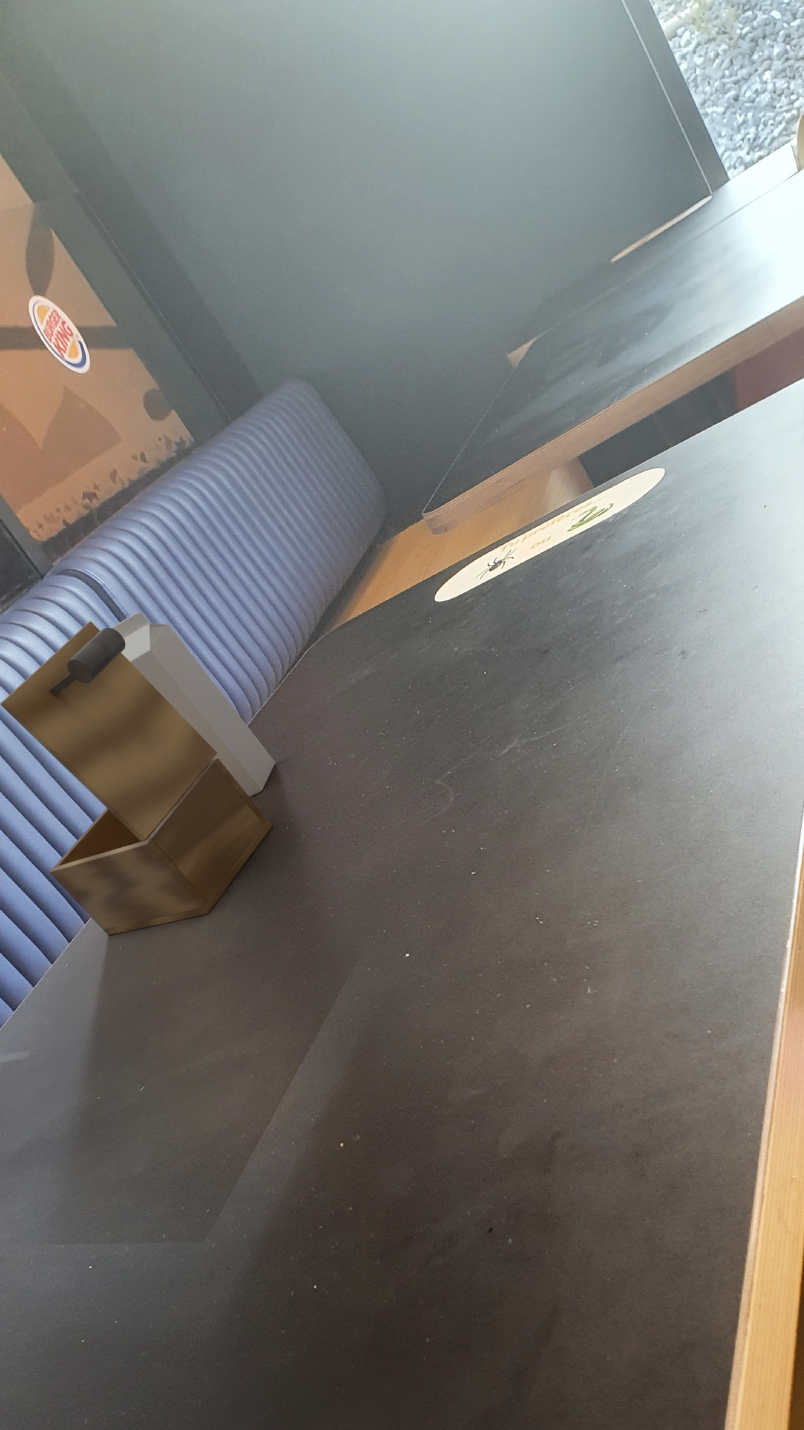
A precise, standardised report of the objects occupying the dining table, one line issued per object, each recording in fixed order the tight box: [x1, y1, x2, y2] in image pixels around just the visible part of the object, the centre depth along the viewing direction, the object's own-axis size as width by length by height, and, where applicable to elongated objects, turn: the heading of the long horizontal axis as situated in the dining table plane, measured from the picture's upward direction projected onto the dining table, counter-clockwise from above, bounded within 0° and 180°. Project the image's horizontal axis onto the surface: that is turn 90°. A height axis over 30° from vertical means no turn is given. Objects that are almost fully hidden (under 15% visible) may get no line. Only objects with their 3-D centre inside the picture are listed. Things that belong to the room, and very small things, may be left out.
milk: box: [111, 611, 276, 798], centre depth 123 cm, size 6×6×22 cm
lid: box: [0, 620, 217, 841], centre depth 102 cm, size 16×13×7 cm
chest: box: [48, 759, 273, 936], centre depth 114 cm, size 16×13×9 cm
